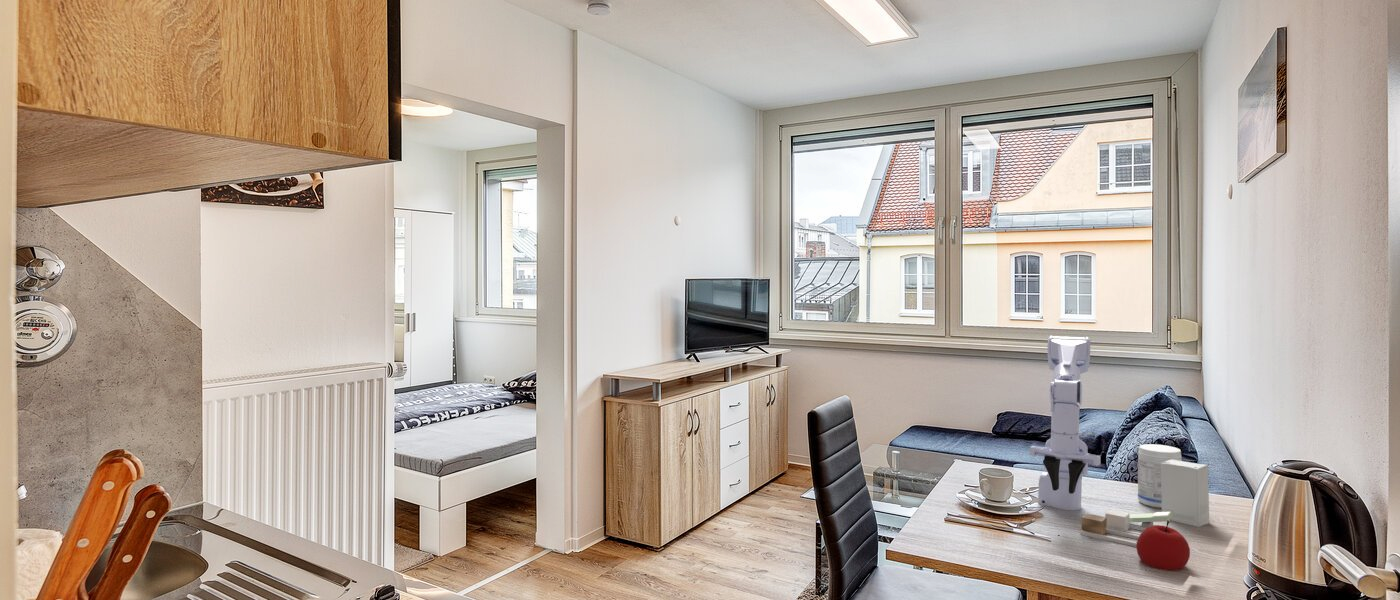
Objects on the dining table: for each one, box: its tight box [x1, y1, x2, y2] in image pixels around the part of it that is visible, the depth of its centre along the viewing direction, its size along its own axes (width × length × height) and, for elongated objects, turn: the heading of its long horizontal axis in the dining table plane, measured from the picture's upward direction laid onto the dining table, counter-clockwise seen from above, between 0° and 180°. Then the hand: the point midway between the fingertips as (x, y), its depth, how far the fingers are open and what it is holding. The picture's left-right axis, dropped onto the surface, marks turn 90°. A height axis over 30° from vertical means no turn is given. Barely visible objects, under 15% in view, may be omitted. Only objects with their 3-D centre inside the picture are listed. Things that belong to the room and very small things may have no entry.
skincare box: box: [1161, 459, 1210, 528], centre depth 173 cm, size 8×6×15 cm
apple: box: [1136, 520, 1191, 572], centre depth 146 cm, size 9×9×10 cm
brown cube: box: [1081, 512, 1107, 535], centre depth 164 cm, size 4×4×4 cm
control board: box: [1079, 522, 1154, 547], centre depth 165 cm, size 20×22×3 cm
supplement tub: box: [1137, 443, 1182, 509], centre depth 189 cm, size 10×10×15 cm
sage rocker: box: [1129, 511, 1172, 524], centre depth 167 cm, size 9×4×1 cm, turn 47°
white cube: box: [1104, 509, 1131, 531], centre depth 167 cm, size 4×4×4 cm
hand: (1063, 491), depth 168 cm, fingers open, 3 cm apart
